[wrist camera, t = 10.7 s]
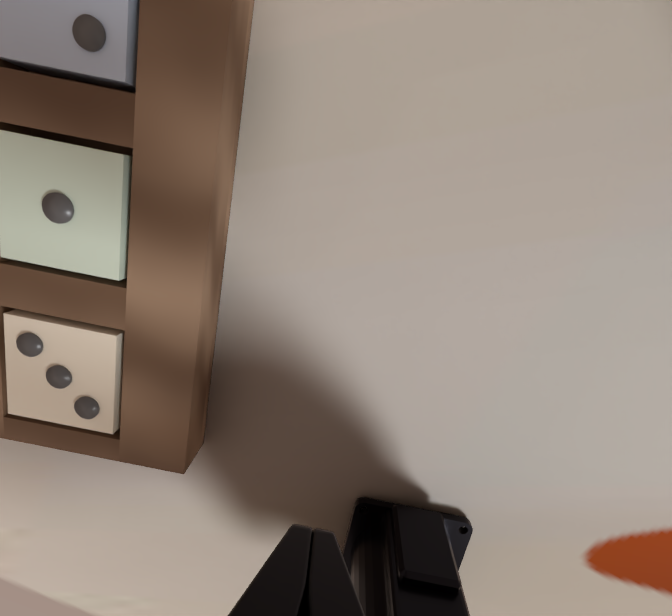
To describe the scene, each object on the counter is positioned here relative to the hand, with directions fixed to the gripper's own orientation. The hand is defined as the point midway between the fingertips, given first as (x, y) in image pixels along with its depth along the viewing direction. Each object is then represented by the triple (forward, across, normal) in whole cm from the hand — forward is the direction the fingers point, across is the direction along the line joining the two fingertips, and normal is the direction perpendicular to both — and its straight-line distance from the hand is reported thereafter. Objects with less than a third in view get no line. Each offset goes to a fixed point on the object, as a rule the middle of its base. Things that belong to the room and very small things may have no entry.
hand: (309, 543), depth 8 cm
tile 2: (+11, +12, -12) cm, 20 cm away
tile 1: (+11, +12, -4) cm, 17 cm away
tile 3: (+11, +12, +4) cm, 17 cm away
